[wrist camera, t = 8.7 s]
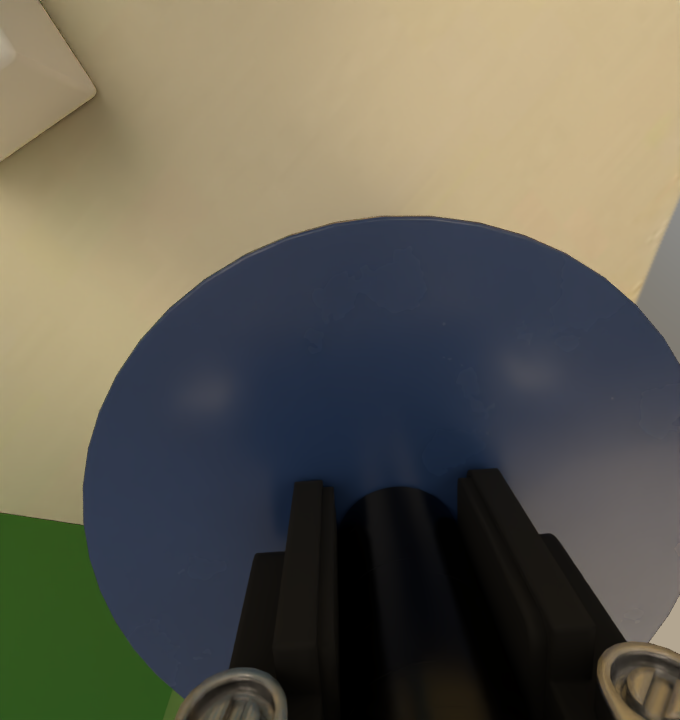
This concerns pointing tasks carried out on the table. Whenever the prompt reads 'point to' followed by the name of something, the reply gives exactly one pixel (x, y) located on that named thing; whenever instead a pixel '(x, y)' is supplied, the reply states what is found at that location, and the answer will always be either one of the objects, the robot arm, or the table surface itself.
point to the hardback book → (65, 634)
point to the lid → (385, 451)
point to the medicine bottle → (35, 75)
